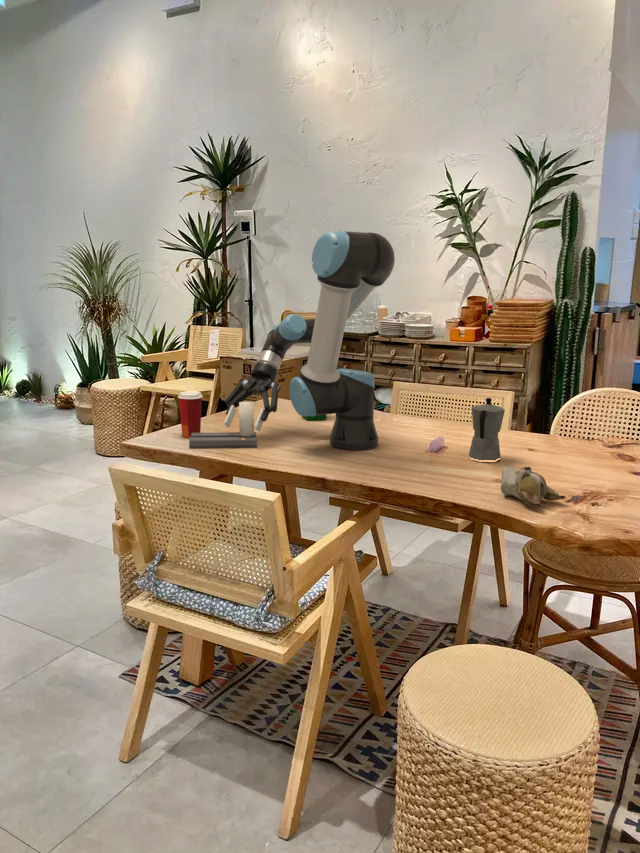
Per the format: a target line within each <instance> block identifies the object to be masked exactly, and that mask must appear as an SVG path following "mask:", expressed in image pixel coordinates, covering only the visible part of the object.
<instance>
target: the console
mask: <svg viewBox="0 0 640 853" xmlns="http://www.w3.org/2000/svg"><path fill="white" fill-rule="evenodd" d="M257 439H258V436H257V432H255V431H254V435H253V436H249V437H245V436H241V435H240V431H239V432H238V431H237V432H236V431H235V432H234V431H233V432H231V431H230V432H229V431H228V432H226V431H225V432H219V431H218V432H200V433H192V434H191V437H190V438H189V440H188V441H189V443H188V444H189V445H188V446H189V449H255V448H257V447H258V445H257V444H258V442H257V441H258V440H257Z"/></svg>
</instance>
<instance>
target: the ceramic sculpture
mask: <svg viewBox="0 0 640 853" xmlns="http://www.w3.org/2000/svg"><path fill="white" fill-rule="evenodd" d="M500 491H501V493H502V495H503V494H504V495H503V496H505V495H511V496H514V497H516V498H518V499H519V500H520V501H522V502H523V503H524V504H525V505H527V506H528V507H533V508H535V507H542V506H543V505H542V504H541V500H543V499H544V500H547V501H559V500H564V499H566V498H567V496H565V495H560V494H559V493H558V492H556V490H555V489H554V488H552V487H551V486H549V485H547V482H546V479H545V477H544V476H542V474H539V473H537V472H533V471H532V468H531V467H530V466H523V467H521V468H519V469H518V470H517V469H516V468H514V467H511V466H509V465H507V464H503V466H502V471H501V482H500Z"/></svg>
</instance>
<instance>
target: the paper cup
mask: <svg viewBox="0 0 640 853" xmlns="http://www.w3.org/2000/svg"><path fill="white" fill-rule="evenodd" d="M203 397H204V396H203V395H202V392H201V391H196V390H187V391H185V390H184V391H182V392H179V394H178V396H177V398H178V402H179V412H180V413H179V415H180V423H181V424H180V426H181V433H182V437H183V438H186V439H190V437H191V434H192V433H201V425H202V423H201V422H202V400H203V399H202V398H203Z"/></svg>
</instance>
